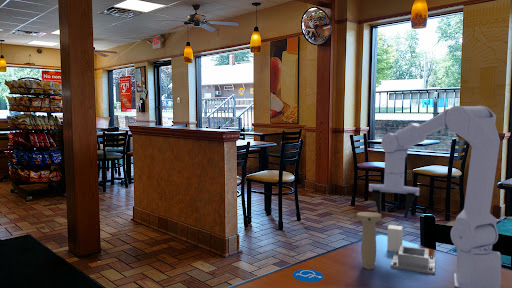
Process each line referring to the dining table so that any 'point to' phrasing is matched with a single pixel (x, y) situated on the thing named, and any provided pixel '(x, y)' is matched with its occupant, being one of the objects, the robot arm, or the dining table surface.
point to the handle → (368, 238)
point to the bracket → (414, 260)
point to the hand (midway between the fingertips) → (392, 215)
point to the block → (394, 238)
